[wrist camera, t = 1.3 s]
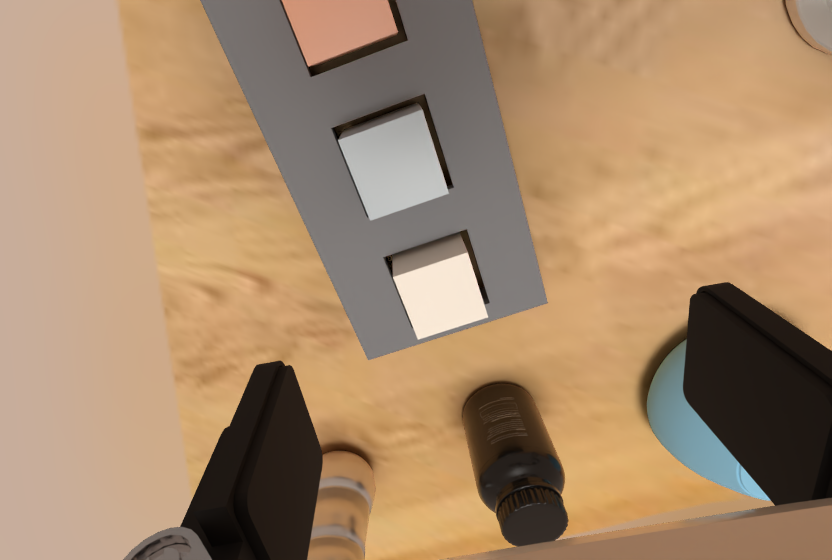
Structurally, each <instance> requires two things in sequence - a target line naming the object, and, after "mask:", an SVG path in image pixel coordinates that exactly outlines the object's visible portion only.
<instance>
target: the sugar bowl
mask: <svg viewBox="0 0 832 560" xmlns="http://www.w3.org/2000/svg"><path fill="white" fill-rule="evenodd" d="M686 342H687V339H685V340H684V341H683V342H681V343H680V344H679V345H677V346H676V347H675V348H674V349H673V350H672V351H671V352H670V353H669V354H668V355H667V356H666V358H665V359H664V360H663V362H662V363H661V365H660V366H659V368H658V370H657V371H656V373H655V376H654V378H653V380H652V383H651V386H650V389H649V393H648V397H647V414H648V419H649V423H650V426H651V428H652V431H653V433H654V434H655V436H656V437H657V438H658V440H659V441H660V442H661V444H662V445H663V446H664V447H665V448H666V449H667V450H668V451H669V452H670V453H671V454H672V455H673V456H674V457H675V458H676V459H678V460H679V461H680V462H681V463H682V464H684V465H685V466H686V467H688V468H689V469H691V470H692V471H694V472H696V473H697V474H699V475H700V476H702V477H704V478H706V479H708V480H710V481H713V482H715V483H717V484H719V485H721V486H724V487H726V488H729V489H731V490H734V491H736V492H739V493H742V494H745V495H748V496H751V497H755V498H758V499H762V500H770V499H769V498H768V496H767V495H766V494H765V493H764V492H763V491H762V489H761V488H760V487H759V486H758V485H757V484H756V482H755V481H754V480H753V479H752V478H751V476H750V475H749V474H748V473H747V472H746V471H745V469H744V468H743V467H742V466H741V465H740V464H739V462H738V461H737V460H736V459H735V458H734V457H733V455H732V454H731V453H730V452H729V451H728V450H727V448H726V447H725V446H724V445H723V444H722V442H721V441H720V440H719V439H718V438H717V437H716V435H715V434H714V433H713V432H712V431H711V430H710V428H709V427H708V426H707V425H706V424H705V423H704V421H703V420H702V419H701V418H700V417H699V416H698V414H697V413H696V412H695V411H694V410H693V408H692V407H691V406H690V405H689V404H688V402H687V401H686V399H685V396H684V393H683V378H684V366H685V354H686Z"/></svg>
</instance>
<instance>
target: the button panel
mask: <svg viewBox="0 0 832 560" xmlns="http://www.w3.org/2000/svg"><path fill="white" fill-rule="evenodd" d="M200 1H201V3H202V5H203V7H204V9H205V11H206V14H207V16H208V18H209V20H210V22H211V24H212V26H213V29H214V31H215V33H216V35H217V37H218V39H219V41H220V44H221V46H222V48H223V50H224V52H225V54H226V56H227V59H228V61H229V63H230V65H231V67H232V69H233V71H234V74H235V76H236V78H237V80H238V82H239V84H240V86H241V89H242V91H243V93H244V95H245V97H246V99H247V101H248V104H249V106H250V108H251V110H252V112H253V114H254V116H255V119H256V121H257V123H258V125H259V127H260V129H261V131H262V134H263V136H264V138H265V140H266V142H267V144H268V146H269V149H270V151H271V153H272V155H273V157H274V159H275V161H276V164H277V166H278V168H279V170H280V172H281V174H282V176H283V179H284V181H285V183H286V185H287V187H288V189H289V191H290V194H291V196H292V198H293V200H294V202H295V204H296V206H297V209H298V211H299V213H300V215H301V217H302V219H303V221H304V224H305V226H306V228H307V230H308V232H309V234H310V236H311V239H312V241H313V243H314V245H315V247H316V249H317V251H318V254H319V256H320V258H321V260H322V262H323V264H324V266H325V269H326V271H327V273H328V275H329V277H330V279H331V281H332V284H333V286H334V288H335V290H336V292H337V294H338V296H339V299H340V301H341V303H342V305H343V307H344V309H345V311H346V314H347V316H348V318H349V320H350V322H351V324H352V326H353V329H354V331H355V333H356V335H357V337H358V339H359V341H360V344H361V346H362V348H363V350H364V352H365V354H366V356H367V359H368V360H371V359H374V358H377V357H380V356H383V355H386V354H389V353H393V352H396V351H399V350H402V349H405V348H408V347H411V346H415V345H418V344H421V343H424V342H427V341H430V340H433V339H437V338H440V337H443V336H446V335H449V334H452V333H455V332H459V331H462V330H465V329H468V328H471V327H474V326H477V325H481V324H484V323H487V322H490V321H493V320H496V319H499V318H503V317H506V316H509V315H512V314H515V313H518V312H521V311H525V310H528V309H531V308H534V307H537V306H540V305H543V304H547V303H548V302H547V298H546V294H545V290H544V286H543V282H542V278H541V274H540V270H539V266H538V262H537V258H536V254H535V250H534V246H533V242H532V238H531V234H530V230H529V226H528V222H527V218H526V214H525V210H524V206H523V202H522V198H521V194H520V190H519V186H518V182H517V178H516V174H515V170H514V166H513V162H512V158H511V154H510V150H509V146H508V142H507V138H506V134H505V130H504V126H503V122H502V118H501V114H500V110H499V106H498V102H497V98H496V94H495V90H494V86H493V82H492V78H491V74H490V70H489V66H488V62H487V58H486V54H485V50H484V46H483V42H482V38H481V34H480V30H479V26H478V22H477V18H476V14H475V10H474V6H473V2H472V0H395V1H396V4H397V8H398V11H399V14H400V17H401V21H402V24H403V27H404V30H405V33H406V37H407V40H408V41H405V42H402V43H400V44H397V45H394V46H392V47H389V48H386V49H384V50H381V51H379V52H376V53H373V54H371V55H368V56H365V57H363V58H360V59H358V60H355V61H352V62H350V63H347V64H344V65H342V66H339V67H337V68H334V69H331V70H329V71H326V72H323V73H321V74H318V75H316V76H313V77H312V74H311V72H310V69H309V67H308V65H307V62H306V60H305V57H304V55H303V52H302V50H301V47H300V45H299V42H298V40H297V37H296V35H295V32H294V30H293V27H292V25H291V22H290V20H289V17H288V15H287V12H286V10H285V7H284V5H283V2H282V0H200ZM423 94H425V98H426V101H427V104H428V107H429V111H430V114H431V117H432V120H433V123H434V127H435V130H436V133H437V136H438V139H439V143H440V146H441V149H442V152H443V156H444V159H445V162H446V165H447V168H448V172H449V175H450V178H451V181H452V184H453V185H450V186H447V189H448V192H449V194H446V195H443V196H440V197H438V198H435V199H432V200H429V201H426V202H423V203H420V204H417V205H414V206H412V207H409V208H406V209H403V210H400V211H397V212H394V213H391V214H388V215H386V216H383V217H380V218H377V219H374V220H371V221H370V219H369V217H368V214H367V212H366V209H365V207H364V204H363V202H362V199H361V197H360V194H359V192H358V189H357V187H356V184H355V182H354V179H353V177H352V174H351V172H350V169H349V167H348V164H347V162H346V159H345V157H344V154H343V152H342V149H341V147H340V144H339V142H338V139H337V137H336V134H335V132H334V129H333V127H336V126H338V125H341V124H344V123H347V122H349V121H352V120H355V119H357V118H360V117H363V116H366V115H368V114H371V113H374V112H376V111H379V110H382V109H385V108H387V107H390V106H393V105H395V104H398V103H401V102H404V101H406V100H409V99H412V98H414V97H417V96H420V95H423ZM466 229H467V233H468V236H469V239H470V242H471V246H472V249H473V252H474V255H475V258H476V262H477V265H478V268H479V271H480V274H481V278H482V281H483V284H484V287H481V288H479V290H480V293H481V296H482V299H483V302H484V305H485V308H486V312H487V315H488V318H484V319H481V320H478V321H475V322H472V323H469V324H466V325H462V326H459V327H456V328H453V329H450V330H447V331H444V332H441V333H437V334H434V335H431V336H428V337H425V338H422V339H419V340H418V338H417V336H416V334H415V331H414V329H413V326H412V324H411V321H410V319H409V316H408V314H407V311H406V309H405V306H404V304H403V301H402V299H401V296H400V294H399V291H398V289H397V286H396V284H395V281H394V279H393V276H392V274H391V271H390V269H389V266H388V264H387V261H386V259H385V257H386V256H389V255H392V254H395V253H398V252H401V251H404V250H406V249H409V248H412V247H415V246H418V245H421V244H424V243H427V242H430V241H433V240H436V239H439V238H442V237H445V236H448V235H451V234H454V233H457V232H460V231H463V230H466Z"/></svg>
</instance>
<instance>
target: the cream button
mask: <svg viewBox="0 0 832 560" xmlns="http://www.w3.org/2000/svg"><path fill="white" fill-rule="evenodd" d="M392 260H393V279H394V281H395V284H396V286H397V289H398V291H399V294H400V296H401V299H402V301H403V304H404V306H405V309H406V311H407V314H408V316H409V319H410V321H411V324H412V326H413V329H414V331H415V334H416V336H417V338H418V340H419V339H422V338H425V337H428V336H431V335H434V334H437V333H441V332H444V331H447V330H450V329H453V328H456V327H459V326H462V325H466V324H469V323H472V322H475V321H478V320H481V319H484V318H488V315H487V312H486V308H485V305H484V302H483V299H482V296H481V293H480V290H479V286H478V283H477V280H476V277H475V274H474V271H473V267H472V264H471V261H470V258H469V255H468V252H467V249H466V247H465V244H464V242H463V239H462V237H461V234H460V232H457V233H454V234H451V235H448V236H445V237H442V238H439V239H436V240H433V241H430V242H427V243H424V244H421V245H418V246H415V247H412V248H409V249H406V250H404V251H401V252H398V253H395V254H392Z"/></svg>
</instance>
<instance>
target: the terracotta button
mask: <svg viewBox="0 0 832 560" xmlns="http://www.w3.org/2000/svg"><path fill="white" fill-rule="evenodd" d="M282 2H283V5H284V7H285V10H286V12H287V15H288V17H289V20H290V22H291V25H292V27H293V30H294V32H295V35H296V37H297V40H298V42H299V45H300V47H301V50H302V52H303V55H304V57H305V60H306V62H307V65H308V66H314V65H320V64H322V63H325V62H328V61H330V60H333V59H335V58H338V57H341V56H343V55H346V54H349V53H351V52H354V51H356V50H359V49H362V48H364V47H367V46H369V45H372V44H375V43H377V42H380V41H383V40H385V39H388V38H390V37H393V36H396V35H397V33H398V31H397V28H396V25H395V21H394V18H393V15H392V12H391V9H390V6H389V3H388V0H282Z"/></svg>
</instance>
